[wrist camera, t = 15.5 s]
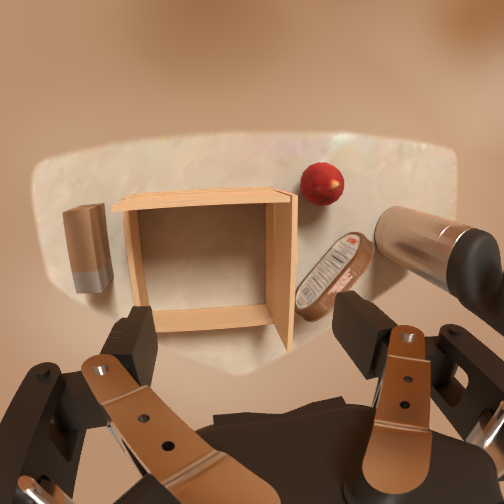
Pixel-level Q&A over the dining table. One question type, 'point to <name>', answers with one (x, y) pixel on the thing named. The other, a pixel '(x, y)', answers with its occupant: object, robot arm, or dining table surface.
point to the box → (88, 247)
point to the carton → (277, 259)
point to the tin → (333, 275)
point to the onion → (322, 184)
